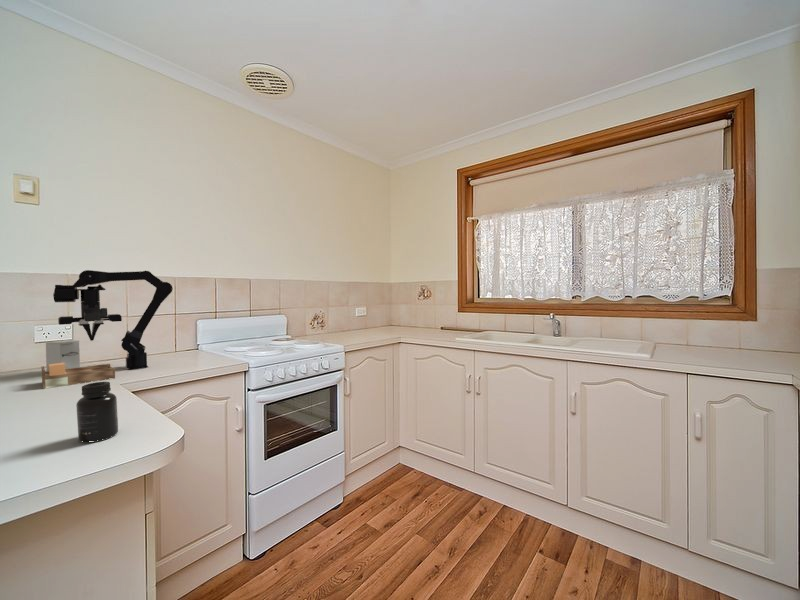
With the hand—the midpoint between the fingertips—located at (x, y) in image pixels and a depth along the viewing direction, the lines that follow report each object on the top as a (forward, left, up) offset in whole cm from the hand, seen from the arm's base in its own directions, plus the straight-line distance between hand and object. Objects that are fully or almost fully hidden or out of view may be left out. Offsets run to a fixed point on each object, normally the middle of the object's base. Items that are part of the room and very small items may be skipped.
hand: (91, 340), depth 141 cm
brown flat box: (+5, +13, -13) cm, 19 cm away
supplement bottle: (+7, +84, -13) cm, 85 cm away
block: (+11, +13, -10) cm, 20 cm away
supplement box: (+8, -11, -13) cm, 19 cm away
